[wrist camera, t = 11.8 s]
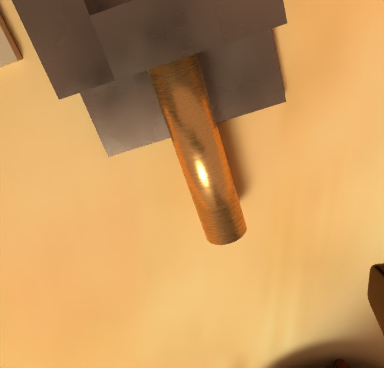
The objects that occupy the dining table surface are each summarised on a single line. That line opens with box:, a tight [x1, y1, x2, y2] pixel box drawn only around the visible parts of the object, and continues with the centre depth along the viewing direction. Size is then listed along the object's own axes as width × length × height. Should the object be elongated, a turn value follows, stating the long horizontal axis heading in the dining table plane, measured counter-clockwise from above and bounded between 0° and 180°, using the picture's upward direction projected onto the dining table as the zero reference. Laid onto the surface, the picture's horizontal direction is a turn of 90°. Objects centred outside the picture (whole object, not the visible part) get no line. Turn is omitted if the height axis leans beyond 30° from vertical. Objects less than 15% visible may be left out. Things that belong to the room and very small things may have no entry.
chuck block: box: [12, 0, 287, 245], centre depth 17 cm, size 20×10×4 cm, turn 17°
